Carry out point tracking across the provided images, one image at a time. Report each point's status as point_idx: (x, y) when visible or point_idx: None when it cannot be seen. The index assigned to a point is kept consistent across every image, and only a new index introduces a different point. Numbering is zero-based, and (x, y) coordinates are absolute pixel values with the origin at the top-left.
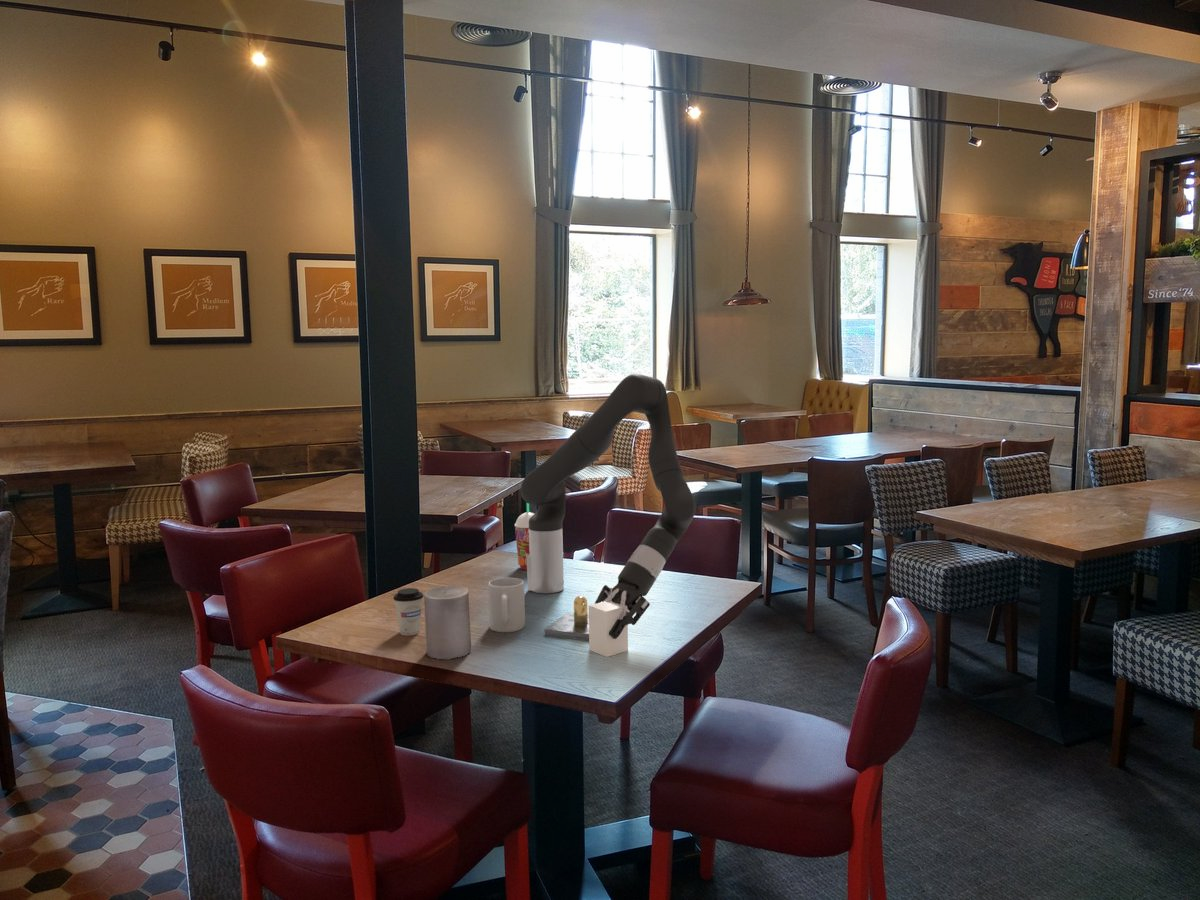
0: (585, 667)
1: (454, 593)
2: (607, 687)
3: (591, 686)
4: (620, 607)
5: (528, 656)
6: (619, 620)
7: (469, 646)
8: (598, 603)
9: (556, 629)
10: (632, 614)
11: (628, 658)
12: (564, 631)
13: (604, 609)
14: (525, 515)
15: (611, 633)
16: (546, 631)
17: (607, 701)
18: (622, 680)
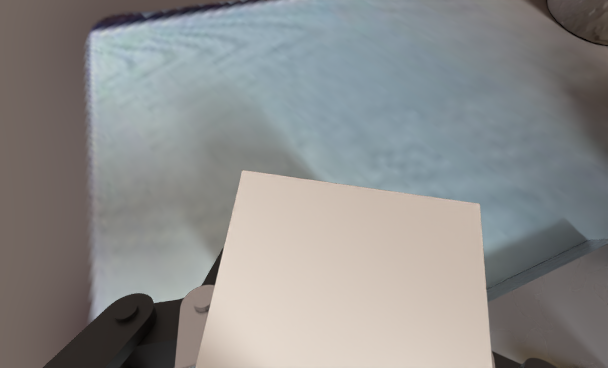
0: (274, 127)
1: None
2: (146, 73)
3: (183, 57)
4: (203, 361)
5: (449, 92)
6: None
7: (581, 10)
8: (474, 316)
9: (590, 267)
10: (71, 342)
11: (213, 261)
12: (550, 272)
13: (290, 204)
14: None
15: None
16: (601, 242)
17: (105, 26)
18: (135, 122)
